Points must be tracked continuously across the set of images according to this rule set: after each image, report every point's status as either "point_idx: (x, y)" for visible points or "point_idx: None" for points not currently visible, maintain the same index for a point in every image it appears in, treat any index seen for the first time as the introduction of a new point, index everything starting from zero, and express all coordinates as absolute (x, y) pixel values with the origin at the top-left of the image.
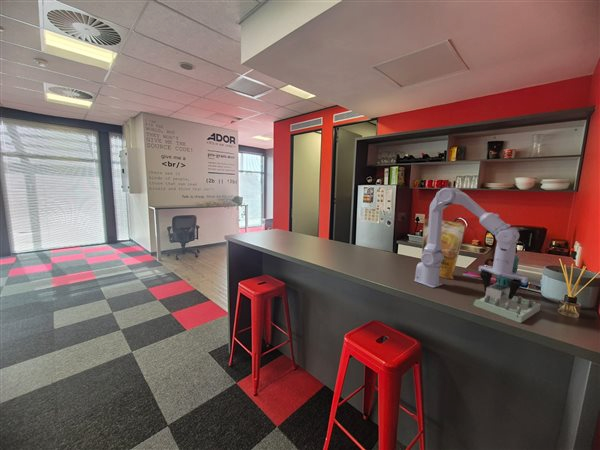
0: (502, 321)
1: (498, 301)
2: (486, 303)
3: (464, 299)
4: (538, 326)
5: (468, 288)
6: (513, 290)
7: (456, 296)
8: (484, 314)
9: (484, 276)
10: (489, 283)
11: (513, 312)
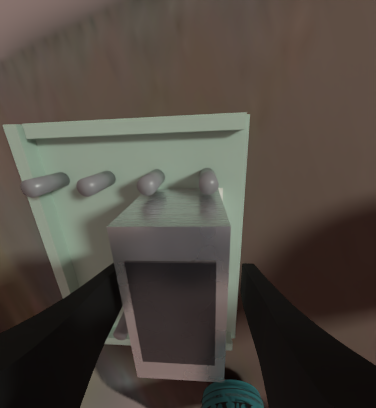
0: (71, 50)
1: (145, 196)
2: (179, 116)
3: (308, 157)
4: (5, 169)
5: (337, 314)
6: (53, 306)
7: (357, 156)
8: (156, 43)
9: (340, 381)
10: (256, 341)
11: (43, 131)
